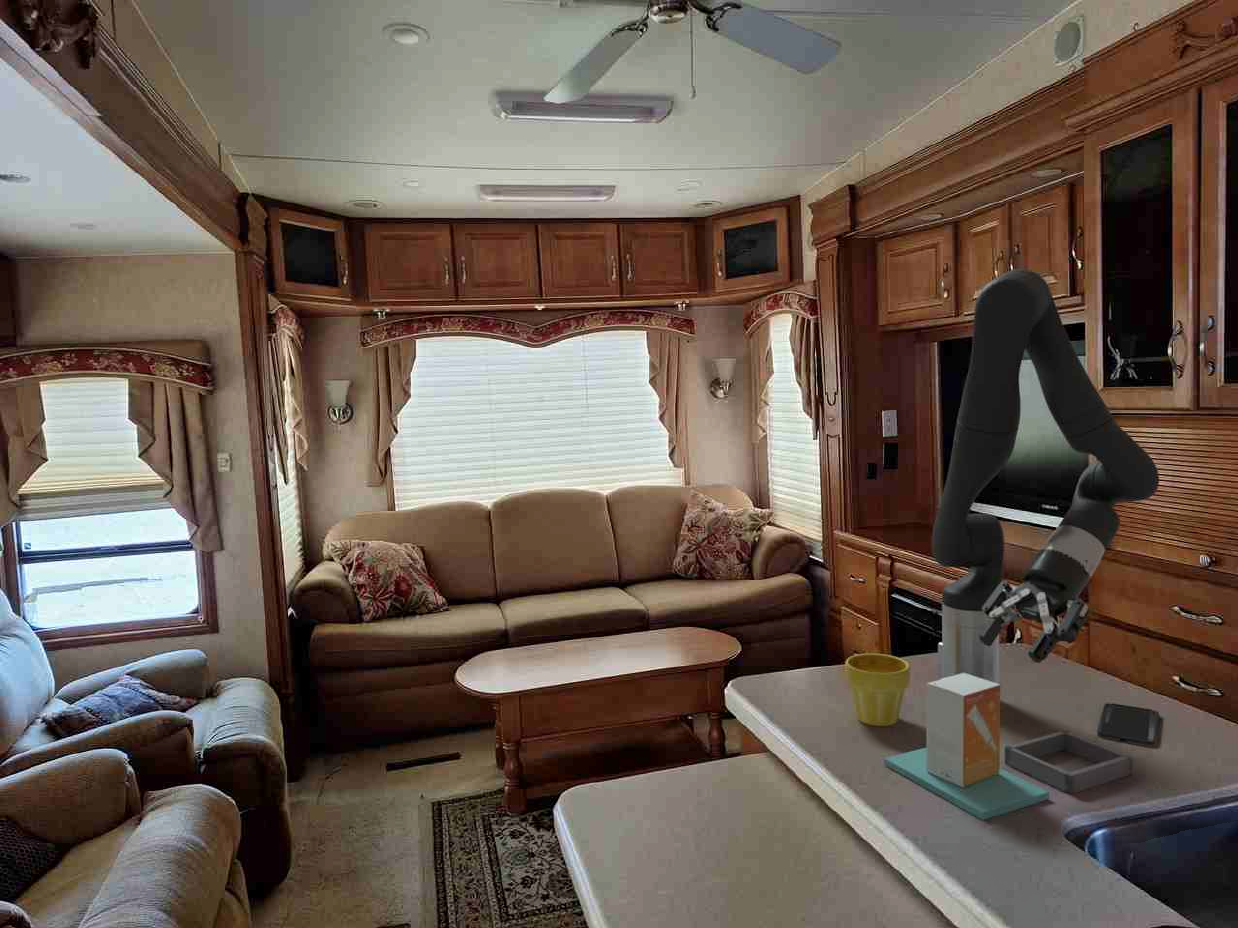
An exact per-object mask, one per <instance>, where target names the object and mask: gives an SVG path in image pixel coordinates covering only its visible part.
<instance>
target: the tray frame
mask: <svg viewBox="0 0 1238 928" xmlns="http://www.w3.org/2000/svg"><path fill="white" fill-rule="evenodd" d="M1065 750H1066V751H1069V752H1071V753H1074V754H1075V755H1078V756H1081V757H1082V758H1084V759H1085V758H1086V759H1088V760H1089V761H1092V762H1095V763H1097V764H1093V765H1090V766H1085V767H1083V768H1079V769H1076V770H1073V771H1070V772H1069V771H1066V770H1064V769H1062V768H1060V767H1057V766H1055V765H1053V764H1051V763H1048V762H1046V761H1043V760H1042V759H1039V758H1040V757H1043V756H1044V757H1045V756H1048V755H1051V754H1055V753H1057V752H1061V751H1065ZM1004 764H1005V765H1007V766H1009V767H1012V768H1014V767H1015V768H1014V769H1016V768H1017V769H1016V770H1018V769H1019V770H1018V771H1020V770H1021V771H1020V772H1022V771H1023V772H1022V773H1024V772H1025V773H1024V774H1026V773H1028V774H1030V775H1029V776H1031V775H1032V776H1031V777H1033V776H1034V777H1033V778H1035V777H1036V778H1035V779H1037V778H1038V779H1037V780H1039V779H1040V780H1039V781H1041V780H1042V781H1041V782H1043V781H1044V782H1043V783H1045V784H1048V785H1051V786H1052V787H1055V788H1057V789H1058V790H1060V791H1062V792H1065V793H1067V794H1069V795H1072V794H1074V793H1077V792H1081V791H1083V790H1088V789H1091V788H1094V787H1096V786H1100V785H1104V784H1106V783H1108V782H1109V783H1110V782H1112V781H1115V780H1119V779H1121V778H1124V777H1128V776H1131V775H1133V757H1132V756H1130V755H1128V754H1125V753H1123V752H1120V751H1118V750H1116V749H1113V748H1110V747H1108V746H1106V745H1102V744H1100V743H1097V742H1096V741H1092V740H1090V739H1087V738H1084V737H1083V736H1079V735H1078V734H1075V733H1072V732H1070V731H1067V730H1062V731H1059V732H1054V733H1050V734H1047V735H1044V736H1040V737H1036V738H1033V739H1028V740H1026V741H1025V740H1024V741H1021V742H1018V743H1013V744H1011V745H1007V746H1004ZM1028 774H1027V775H1028Z"/></svg>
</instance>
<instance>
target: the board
mask: <svg viewBox="0 0 1238 928" xmlns="http://www.w3.org/2000/svg"><path fill="white" fill-rule="evenodd" d="M883 762H884V763H883V764H884V766H886V767H887V768H889V769H891V770H893V771H894V772H896V773H898V774H899V775H901V776H903V777H905V778H907V779H909V780H910V781H912V782H914V783H916V784H917V785H919V786H921V787H922V788H924V789H926V790H928V791H929V792H932V793H934V794H936V795H937V796H939V797H941V798H942V799H945V800H946V801H948V802H949V803H951V804H953V805H955V806H957V807H958V808H959V809H962V810H964V811H966V812H968V813H969V814H971V815H973V816H974V817H976V818H978V819H979V820H982V821H984V820H988V819H991V818H995V817H997V816H1001V815H1004V814H1007V813H1011V812H1012V811H1016V810H1020V809H1023V808H1026V807H1028V806H1031V805H1035V804H1038V803H1041V801H1042V802H1044V800H1045V801H1048V800H1050V792H1049V791H1048V790H1045V789H1043V788H1041V787H1039V786H1037V785H1035V784H1033V783H1031V782H1029V781H1026V779H1025V780H1024V779H1022V778H1020V777H1018V776H1016V775H1014V774H1012V773H1010V772H1008V771H1006V770H1004V769H1002V768H1000V767H999V774H997V775H993V776H991V777H988V778H986V779H983V780H980V781H978V782H975V783H973V784H970V785H968V786H966V787H964V788H963V787H960V786H958V785H956V784H953V783H951V782H949V781H947V780H944V779H942V778H940V777H938V776H936V775H933V774H931V773H929V772H927V771H926V747H924V748H923V747H922V748H920V749H916V750H911V751H908V752H903V753H901V754H900V753H899V754H897V755H892V756H888V757H884V760H883ZM1047 799H1048V800H1047ZM1025 806H1026V807H1025Z"/></svg>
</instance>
